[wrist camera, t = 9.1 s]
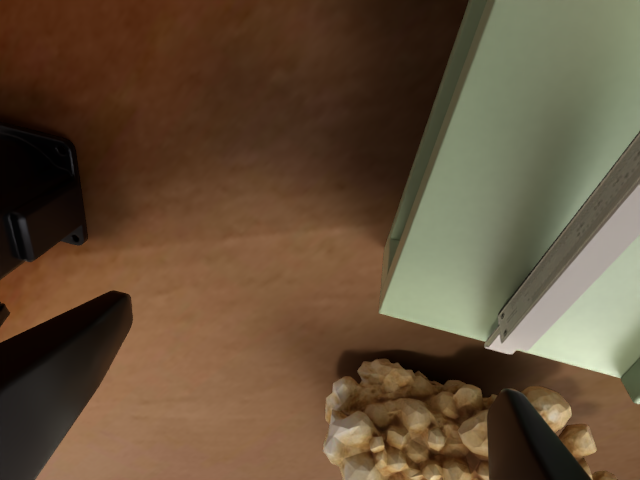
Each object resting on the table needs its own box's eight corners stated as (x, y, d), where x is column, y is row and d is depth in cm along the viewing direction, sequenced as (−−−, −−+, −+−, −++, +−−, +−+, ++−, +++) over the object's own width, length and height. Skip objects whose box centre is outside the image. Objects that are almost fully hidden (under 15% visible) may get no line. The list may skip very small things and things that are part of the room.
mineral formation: (319, 345, 26) (597, 324, 21) (378, 441, 34) (592, 444, 28) (289, 485, 20) (667, 508, 15) (370, 562, 28) (637, 596, 22)
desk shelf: (383, 249, 22) (376, 333, 17) (618, -437, 10) (835, -865, 5) (592, 304, 21) (653, 408, 16) (1084, -349, 10) (1849, -721, 5)
